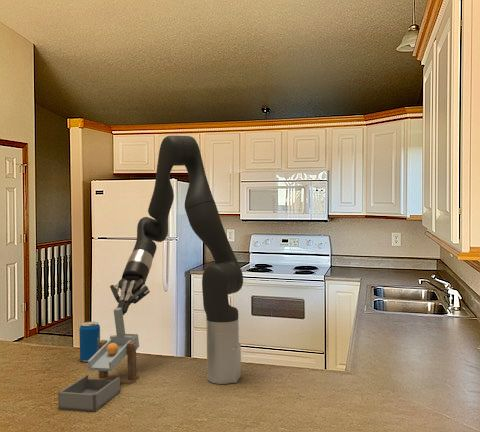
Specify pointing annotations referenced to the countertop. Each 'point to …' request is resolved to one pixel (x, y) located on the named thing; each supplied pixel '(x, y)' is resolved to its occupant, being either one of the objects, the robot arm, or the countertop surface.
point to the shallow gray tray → (88, 394)
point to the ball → (112, 348)
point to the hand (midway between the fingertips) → (120, 313)
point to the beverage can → (89, 340)
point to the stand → (130, 361)
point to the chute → (102, 357)
